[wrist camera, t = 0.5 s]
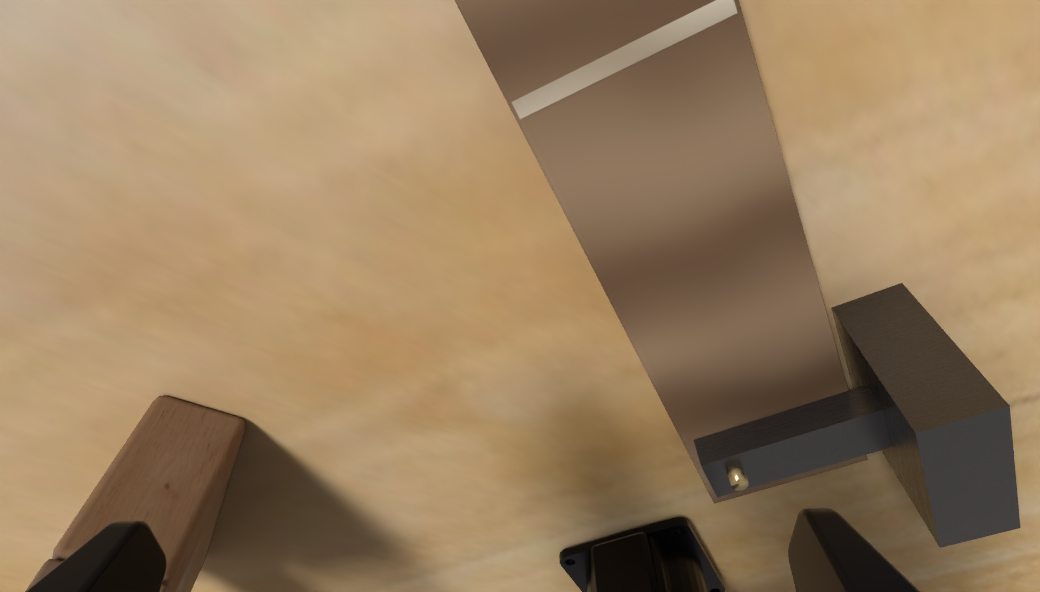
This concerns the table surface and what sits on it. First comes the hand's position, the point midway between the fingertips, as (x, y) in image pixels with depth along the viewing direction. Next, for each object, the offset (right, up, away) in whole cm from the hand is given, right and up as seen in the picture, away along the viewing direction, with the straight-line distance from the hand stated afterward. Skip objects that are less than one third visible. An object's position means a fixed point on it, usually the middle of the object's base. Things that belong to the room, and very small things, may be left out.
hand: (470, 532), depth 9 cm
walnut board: (+6, +5, +12) cm, 15 cm away
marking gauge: (+11, 0, +16) cm, 20 cm away
